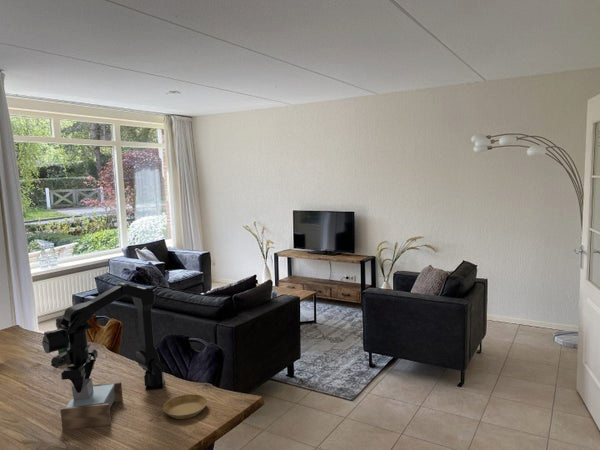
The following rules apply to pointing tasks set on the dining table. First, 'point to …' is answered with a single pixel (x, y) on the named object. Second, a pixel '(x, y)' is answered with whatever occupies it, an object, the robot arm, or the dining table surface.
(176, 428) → the dining table surface
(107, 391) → the trapdoor
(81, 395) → the grey cube
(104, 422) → the frame
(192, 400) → the plant saucer
